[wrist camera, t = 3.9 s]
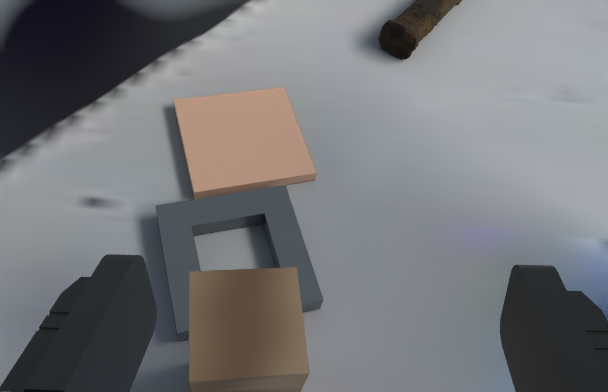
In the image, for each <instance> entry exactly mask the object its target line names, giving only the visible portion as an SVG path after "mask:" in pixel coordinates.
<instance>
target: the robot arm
mask: <svg viewBox="0 0 608 392" xmlns="http://www.w3.org/2000/svg"><path fill="white" fill-rule="evenodd" d="M155 324H156V304H155V300H154V296H153V292H152V288H151V284H150V280H149V276H148V272H147V268H146V264H145V261H144V259H143V257H142V256H140V255H110V254H108V255H105V256H104V257H103V258H102V260H101V261H100V263H99V264H98V266H97V268H96V269H95V271H94V273H93V274H92V276H91V277H81V278H79V279H78V280H77V281H76V282H74V283H73V284H72V285H71V286H70V287H68V288H67V289H66V290H65V291H63V292H62V293H61V295H60V296H59V298H58V299H57V301H56V302H55V304H54V305H53V307H52V308H51V310H50V314H49V316H48V315H47V316H46V318H45V319H44V321H43V322H42V324H41V325H40V327H39V328H40V329H39V331H36V333H35V335H34V336H33V338H32V339H31V341H30V342H29V344H28V345H27V347H26V348H25V350H24V351H23V353H22V354H21V356H20V358H19V359H18V361H17V362H16V364H15V365H14V367H13V368H12V370H11V371H10V373H9V374H8V376H7V377H6V379H5V381H4V382H3V384H2V385H1V387H0V392H129V391H130V388H131V386H132V383H133V381H134V379H135V376H136V374H137V371H138V369H139V366H140V364H141V362H142V359H143V357H144V354H145V352H146V349H147V347H148V345H149V342H150V340H151V337H152V335H153V332H154V329H155ZM500 335H501V342H502V347H503V350H504V354H505V357H506V360H507V364H508V367H509V371H510V374H511V377H512V381H513V384H514V387H515V391H516V392H608V321H607V320H606V318H605V316H604V314H603V312H602V310H601V309H600V308H599V307H598V306H596V305H595V304H594V303H593V302H592V301H591V300H590V299H589V298H588V297H587V296H586V295H584V294H583V293H582V292H581V291H566V289H565V287H564V284H563V282H562V280H561V278H560V276H559V274H558V272H557V270H556V269H555V267H553V266H545V265H515V266H514V267H513V268H512V271H511V275H510V279H509V284H508V288H507V292H506V297H505V301H504V305H503V310H502V314H501V321H500Z"/></svg>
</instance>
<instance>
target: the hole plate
mask: <svg viewBox="0 0 608 392" xmlns="http://www.w3.org/2000/svg"><path fill="white" fill-rule="evenodd" d="M156 212H157V218H158V224H159V230H160V236H161V242H162V248H163V253H164V259H165V265H166V271H167V277H168V283H169V289H170V294H171V300H172V306H173V312H174V318H175V324H176V330H177V336H178V341H181V340H186V339H189V284H190V272H191V271H201V270H200V265H199V260H198V256H197V251H196V246H195V241H194V236H197V235H203V234H208V233H214V232H219V231H225V230H230V229H236V228H242V227H247V226H253V225H258V224H263V225H264V228H265V232H266V235H267V239H268V242H269V246H270V249H271V252H272V256H273V259H274V263H275V266H276V268H288V267H297V272H298V281H299V289H300V298H301V306H302V313H303V312H307V311H312V310H316V309H320V307H321V305H322V302H323V298H322V295H321V292H320V289H319V285H318V282H317V279H316V276H315V273H314V270H313V267H312V264H311V261H310V258H309V255H308V252H307V249H306V246H305V243H304V240H303V237H302V234H301V231H300V228H299V225H298V222H297V219H296V216H295V213H294V210H293V207H292V204H291V201H290V198H289V195H288V192H287V189H286V186H285V185H281V186H275V187H269V188H263V189H257V190H250V191H244V192H238V193H232V194H226V195H219V196H213V197H207V198H201V199H195V200H189V201H182V202H176V203H170V204H164V205H158V206H156Z"/></svg>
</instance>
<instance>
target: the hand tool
mask: <svg viewBox="0 0 608 392" xmlns="http://www.w3.org/2000/svg"><path fill="white" fill-rule="evenodd" d="M461 1H462V0H416V1H415V2H414V3H413V4H412V5H411V6H410V7H408V8H407V9H406V10H405V11H404V12H403V13H402V14H401V15H400V16H399V17H398V18H397V19H395V20H388V21H387V22H386V23H385V24H384V25H383V27H382V29H381V32H380V37H379V38H378V39H379V42H380V45H381V48H382V49H383V50H385V51H387V52H389V53H390V54H391V55H393V56H395V57H398V58H401V59H407V58H409V57H410V56H411V53H412V51H413V50H415V49H416V47H417V46H418V43H419V42H420V41H421V40H422V39H423V38H424V37H425V36H427V34H428V33H430V31H431V30H432V29H433V28H434V26H436V25H437V24H438V22H439V21H440V20H441V19H442V18H443V17H444V16H445V15H446V14H447V13H448V12H449V11H450V10H451V9H452V8H453V7H454V6H455V5H459V3H460V2H461Z"/></svg>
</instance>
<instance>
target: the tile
mask: <svg viewBox="0 0 608 392" xmlns="http://www.w3.org/2000/svg"><path fill="white" fill-rule="evenodd" d="M174 108H175V113H176V117H177V122H178V126H179V131H180V136H181V140H182V145H183V149H184V154H185V158H186V163H187V168H188V172H189V177H190V181H191V186H192V191H193V195H194V200H195V199H201V198H207V197H213V196H219V195H226V194H232V193H238V192H244V191H250V190H257V189H263V188H269V187H275V186H281V185H288V184H294V183H300V182H306V181H313V180H315V177H316V170H315V168H314V165H313V162H312V160H311V157H310V154H309V152H308V149H307V146H306V144H305V141H304V138H303V136H302V133H301V130H300V128H299V125H298V122H297V120H296V117H295V114H294V112H293V109H292V106H291V103H290V101H289V98H288V95H287V93H286V90H285V87H281V88H272V89H263V90H254V91H245V92H236V93H227V94H218V95H209V96H200V97H191V98H182V99H174Z"/></svg>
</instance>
